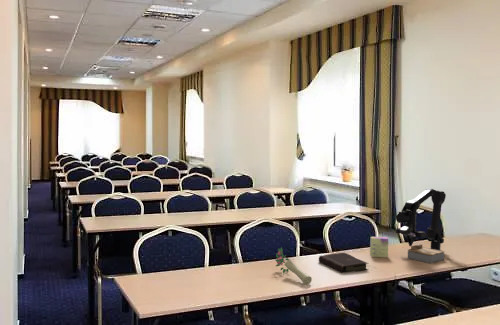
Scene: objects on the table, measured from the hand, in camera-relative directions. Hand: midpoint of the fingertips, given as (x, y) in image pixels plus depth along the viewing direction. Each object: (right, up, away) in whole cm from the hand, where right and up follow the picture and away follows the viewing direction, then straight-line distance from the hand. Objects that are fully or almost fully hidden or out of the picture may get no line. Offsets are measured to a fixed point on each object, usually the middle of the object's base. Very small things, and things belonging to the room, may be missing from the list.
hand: (410, 246), depth 324 cm
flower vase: (-79, -9, -47) cm, 92 cm away
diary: (-47, -8, -26) cm, 54 cm away
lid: (+7, -2, -9) cm, 11 cm away
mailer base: (+7, -7, -8) cm, 13 cm away
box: (-20, -6, -1) cm, 21 cm away
